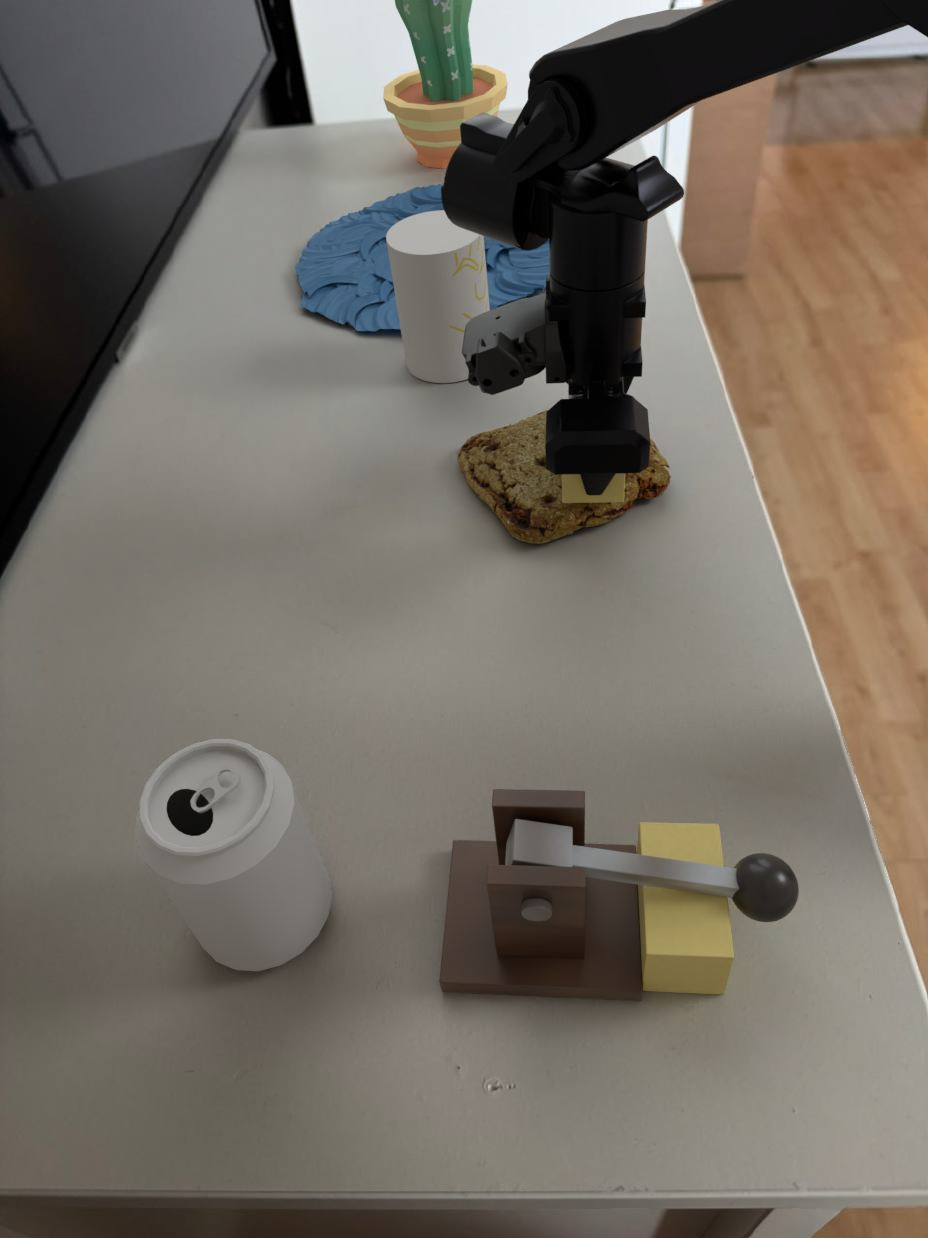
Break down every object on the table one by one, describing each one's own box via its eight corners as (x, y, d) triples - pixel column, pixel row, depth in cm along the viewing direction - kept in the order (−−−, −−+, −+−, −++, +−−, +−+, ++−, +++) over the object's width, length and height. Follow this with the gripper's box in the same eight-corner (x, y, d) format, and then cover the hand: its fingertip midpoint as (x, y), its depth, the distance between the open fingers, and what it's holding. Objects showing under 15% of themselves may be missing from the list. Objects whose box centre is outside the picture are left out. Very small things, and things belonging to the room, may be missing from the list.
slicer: (635, 855, 52) (643, 765, 46) (641, 1001, 47) (652, 922, 40) (455, 850, 53) (438, 761, 47) (441, 992, 48) (420, 914, 42)
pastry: (694, 430, 78) (697, 398, 75) (638, 572, 67) (641, 541, 65) (496, 398, 83) (494, 368, 81) (416, 526, 73) (411, 495, 70)
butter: (710, 865, 52) (719, 823, 48) (723, 995, 47) (734, 957, 44) (635, 863, 52) (639, 821, 49) (641, 991, 47) (646, 954, 44)
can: (175, 906, 53) (94, 788, 44) (287, 825, 56) (233, 698, 47) (244, 1008, 48) (170, 900, 40) (362, 914, 51) (318, 794, 43)
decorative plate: (546, 358, 89) (545, 308, 85) (254, 334, 96) (240, 287, 92) (599, 205, 107) (601, 158, 103) (350, 194, 114) (342, 150, 110)
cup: (480, 385, 84) (468, 256, 76) (394, 379, 86) (372, 252, 78) (502, 337, 90) (493, 211, 81) (421, 332, 92) (403, 208, 83)
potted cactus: (376, 179, 117) (338, -65, 99) (408, 129, 127) (380, -100, 109) (498, 179, 114) (483, -73, 96) (522, 128, 124) (512, -109, 106)
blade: (778, 876, 48) (803, 846, 46) (787, 937, 46) (814, 908, 43) (505, 837, 47) (516, 804, 45) (501, 897, 45) (513, 866, 43)
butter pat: (621, 463, 71) (623, 423, 68) (623, 502, 68) (625, 462, 65) (562, 465, 71) (562, 425, 69) (561, 503, 68) (561, 463, 66)
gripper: (475, 206, 65) (490, 400, 76) (450, 357, 52) (473, 563, 63) (641, 197, 63) (631, 396, 75) (657, 350, 51) (642, 561, 62)
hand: (593, 472), depth 69 cm, fingers closed on butter pat, 4 cm apart
